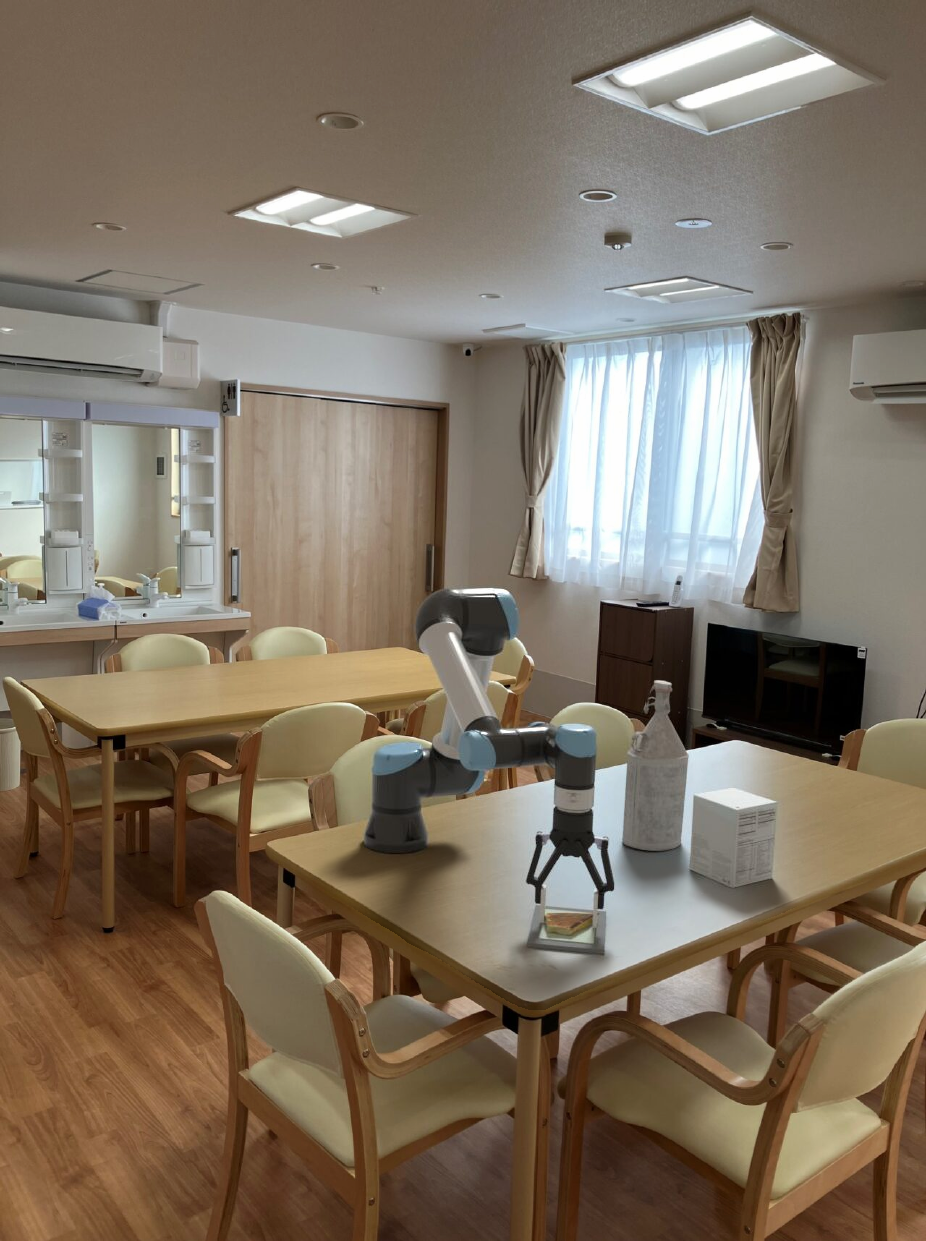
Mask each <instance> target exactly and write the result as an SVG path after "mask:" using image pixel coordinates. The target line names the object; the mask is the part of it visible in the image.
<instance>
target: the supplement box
mask: <svg viewBox="0 0 926 1241" xmlns="http://www.w3.org/2000/svg"><path fill="white" fill-rule="evenodd" d="M692 798H693V799H692V800H693V801H692V818H691V819H692V822H691V838H690V854H689V855H690V857H689V870H690V871H693V872H695V873H697V874H699V875H702V876H704V877H706V878H708V879H710V880H713V881H715V882H718V883H720V884H722V885H724V886H727V887H729V888H731V889H734V888H738V887H743V886H746V885H751V884H755V883H757V882H761V881H766V880H770V879H773V872H774V858H775V845H776V844H775V843H776V842H775V841H776V828H777V827H776V826H777V816H778V814H777V812H778V801H775V800H773V799H769V798H767V797H766V798H765V797H763V796H759V795H757V794H754V793H751V792H748V791H745V790H742V789H739V788H735V787H729V788H724V789H718V790H711V791H707V792H700V793H694V794H693V797H692Z"/></svg>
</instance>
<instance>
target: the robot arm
mask: <svg viewBox="0 0 926 1241" xmlns="http://www.w3.org/2000/svg"><path fill="white" fill-rule="evenodd" d="M515 600H516V599H515V598H514V597H513V595H512V594H511V593H510V591H508V590H506V589H504V588H495V587H494V588H493V587H491V586H490V587H487V588H484V587H483V588H482V587H481V588H477V587H476V588H473V587H472V588H471V587H469V588H453V587H448V588H442V589H439V590H436V591H434V592H432V593H431V594H429V595H428V596H427V597H426V598H425V599H424V601H422V603H421V604H420V605H419V608H418V609H417V613H416V614H415V619H414V624H413V625H414V626H413V627H414V636H415V639H416V643H417V644H418V647H419V649H420V651H421V652H422V653H423V654H425V655H426V656H428V657H429V660H430V663H431V664H432V666H433V669H434V671H435V673H436V676H437V678H438V680H439V682H440V686H441V687H442V689H443V691H444V694H445V696H446V704H445V709H444V714H443V720H442V724H441V728H440V732H438V733H436V734H435V735H434V736H433V738H432V743H431V747H427V748H426V747H425V748H424V747H423V745H422V744H421V743H418V742H415V741H408V742H405V741H401V742H393V743H389V744H386V745H383V746H381V747H380V748H378V749H377V750H376V751H375V752H374V754H373V759H372V760H373V761H372V768H371V772H372V786H371V788H372V789H371V792H372V793H371V794H372V796H371V813H370V815H369V817H368V821H367V824H366V827H365V830H364V832H363V844H364V846H365V847H366V848H368V849H370V850H372V851H376V852H379V853H380V852H381V853H388V854H403V853H404V854H406V853H412V852H416V851H420V850H422V849H424V848H426V847H427V846H428V843H429V835H428V834H429V833H428V830H427V826H426V822H425V819H424V816H423V812H422V800H423V799H426V798H427V799H428V798H437V797H446V796H448V797H449V796H462V795H463V796H464V795H466V794H472V793H474V792H476V791H478V790H479V789H480V787H481V786H482V784H483V783H484V780H485V776H486V771H491V770H499V769H508V768H522V767H523V768H524V767H533V766H536V767H537V766H547V767H549V768H552V769H553V770H554V782H553V783H554V784H553V804H554V807H553V809H552V810H553V812H552V828H551V830H550V832H542V831H541V830H538V831H537V832H536V834H535V849H534V852H533V855H532V859H531V863H530V865H529V869H528V872H527V876H526V879H525V883H526V885H532V886H534V889H535V890H534V902H535V904H537V905H540V922H541V923H544V919H545V906H546V900H547V899H546V896H547V884H544V883H545V881H546V880H547V878H548V877H549V875H550V873H551V872H552V870H553V868H554V867H555V865H557V862H558V860H559V859H560V857H561V856H562V857H573V858H578V859H579V858H581V860H582V862H583V863H584V865H585V867H586V869H587V872H588V873H589V876H590V878H591V880H592V882H593V884H594V885H595V888H593V889H594V890H593V907H592V910H593V927H594V928H597V911H599V910H601V911H604V908H605V906H604V905H605V894H606V893H607V892H614V891H615V879H614V875H613V868H612V866H611V860H610V855H609V850H608V848H609V840H610V839H609V837H608V836H607V835H606V836H603V837H600V836H595V833H594V831H593V827H594V826H593V825H594V810H593V807H594V806H595V782H596V767H597V766H596V765H597V752H598V745H597V731H596V730H595V728H593V727H592V726H591V725H588V724H587V725H586V724H581V723H565V724H560V725H558V727H557V726H556V725H554V724H552V723H550V722H549V723H548V722H543V721H535V722H531V723H530V724H529V725H526V726H524V727H511V728H509V727H508V728H504V727H503V725H502V723H501V722H500V720H499V718H498V716H497V713H496V710H495V709H494V707H493V705H492V703H491V701H490V699H489V696H488V695H487V692H488V688H489V684H490V679H491V676H492V670H493V667H494V666H493V665H494V662H495V658H496V657H497V656H499V655H500V654H502V653H503V650H504V648H505V647H504V646H505V642H506V641H507V642H509V641H512V640H513V639H515V638H516V637H517V636H518V632H519V628H520V614H519V610H518V606H517V604H516V601H515ZM548 841H551V843H552V844H553V846H554V847H555V848H554V850H553V852H552V853H551V855H550V857H549V858H548V860H547V861H546V863H545V865H544V867H543V868H542V870H541V871H540V873H539V874H538V876H535V875H536V870H537V868H538V863H539V861H540V857H541V853H542V850H543V846H545V845H547V843H548ZM594 844H595V845H596V849H597V850H599V851H600V857H601V858H600V859H601V862H602V866H603V867H602V868H603V871H604V878H605V882H604V881H603V880H602V876H601V875H600V872H599V870H598V868H597V866H596V865H595V862H594V861H593V858H592V856H591V852H590V851H589V849H590V848H591V847H592V846H593V845H594Z"/></svg>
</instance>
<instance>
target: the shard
mask: <svg viewBox="0 0 926 1241" xmlns="http://www.w3.org/2000/svg"><path fill="white" fill-rule="evenodd" d="M599 914H600V913H597V916H598V915H599ZM544 922H545V923H546V924H547V932H557V933H560V934H563V935H572V934H573V933H575V932H577V931H578V930H581V929H584V928H586V927H587V926H589V925H591V924H592V923H593V913H587V914H585V913H583V914H582V913H547V914H545V919H544Z"/></svg>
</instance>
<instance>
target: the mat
mask: <svg viewBox="0 0 926 1241" xmlns="http://www.w3.org/2000/svg"><path fill="white" fill-rule="evenodd" d="M540 905H541V904H537V905H535V908H534V910H533V911H534V913H533V916H532V921H531V924H530V925H531V926H530V928H529V933H528V939H527V942H526V947H527V948H536V949H546V950H554V951H555V950H557V951H566V952H577V953H587V954H597V955H605V949H606V948H605V947H606V945H605V944H606V929H607V928H606V926H607V911H606V910H605V911H604V910H598V911H597V913H600V914H599V915H598V916H597V928H594V927H593V923H592V924H591V925H589V926H587V927H586V928H584V929H581V930H578V931H577V932H575V933H573V934H572V935H563V934H560V933H557V932H547V924H546V923H545V922H544V923H541V922H540ZM547 913H582V914H583V913H585V914H587V913H593V909H583V908H572V907H561V906H560V907H559V906H550V905H545V914H547Z"/></svg>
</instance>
